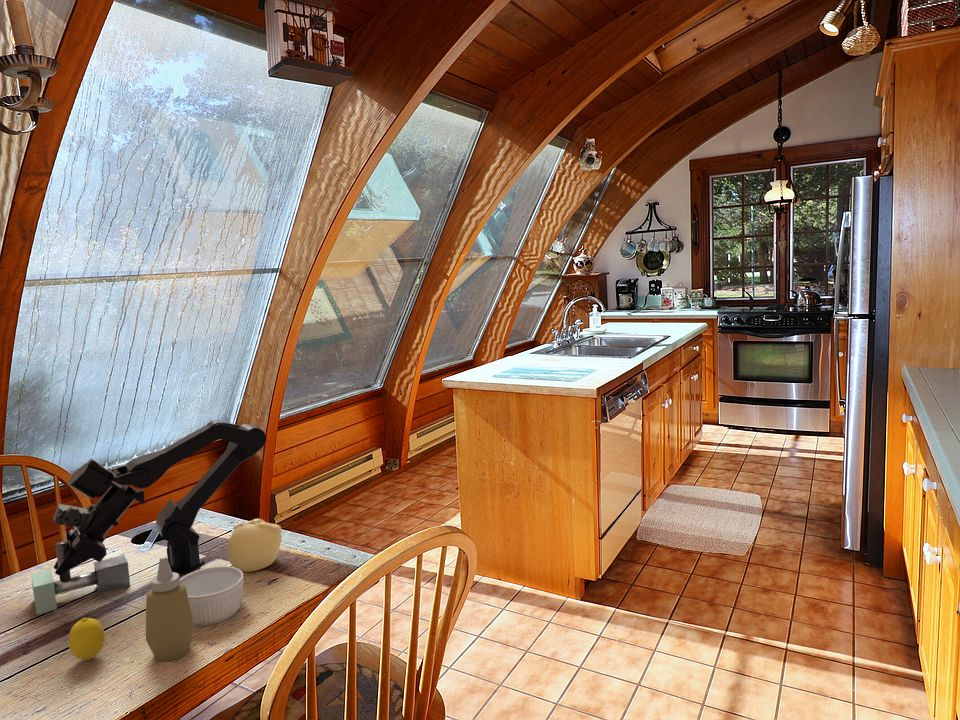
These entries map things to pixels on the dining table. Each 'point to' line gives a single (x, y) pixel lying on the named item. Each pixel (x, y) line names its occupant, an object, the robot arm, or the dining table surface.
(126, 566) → the grey cubic block
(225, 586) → the ramekin
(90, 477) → the robot arm
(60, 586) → the dark grey l-shaped piece
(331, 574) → the dining table surface
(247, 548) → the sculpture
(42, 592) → the socket block
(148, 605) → the squeeze bottle
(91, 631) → the lemon
